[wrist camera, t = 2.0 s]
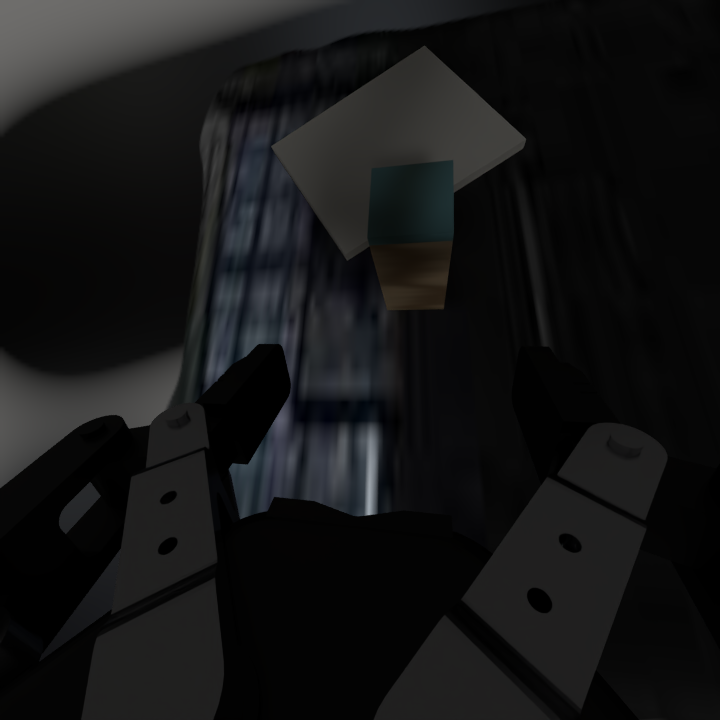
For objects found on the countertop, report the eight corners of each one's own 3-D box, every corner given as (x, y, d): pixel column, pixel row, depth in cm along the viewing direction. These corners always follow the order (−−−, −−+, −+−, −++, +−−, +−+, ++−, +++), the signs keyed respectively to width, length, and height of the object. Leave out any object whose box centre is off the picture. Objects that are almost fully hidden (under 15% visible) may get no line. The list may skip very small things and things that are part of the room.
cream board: (424, 55, 37) (424, 45, 36) (523, 148, 31) (526, 139, 30) (275, 154, 37) (271, 146, 36) (347, 260, 32) (344, 255, 31)
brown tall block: (443, 258, 30) (453, 159, 20) (443, 308, 29) (453, 232, 18) (389, 261, 31) (371, 168, 21) (387, 309, 30) (367, 237, 19)
